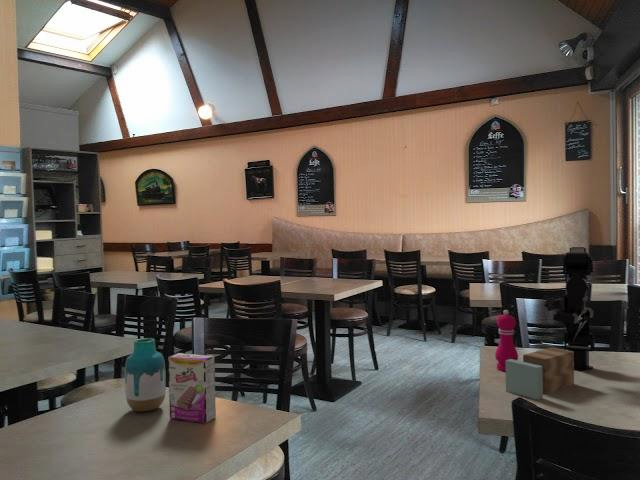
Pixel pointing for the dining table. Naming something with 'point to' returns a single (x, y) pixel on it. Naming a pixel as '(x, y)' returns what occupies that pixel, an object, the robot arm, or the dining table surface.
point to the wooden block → (553, 367)
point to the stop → (524, 379)
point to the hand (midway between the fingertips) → (570, 341)
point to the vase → (145, 376)
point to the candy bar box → (192, 387)
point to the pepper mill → (505, 340)
